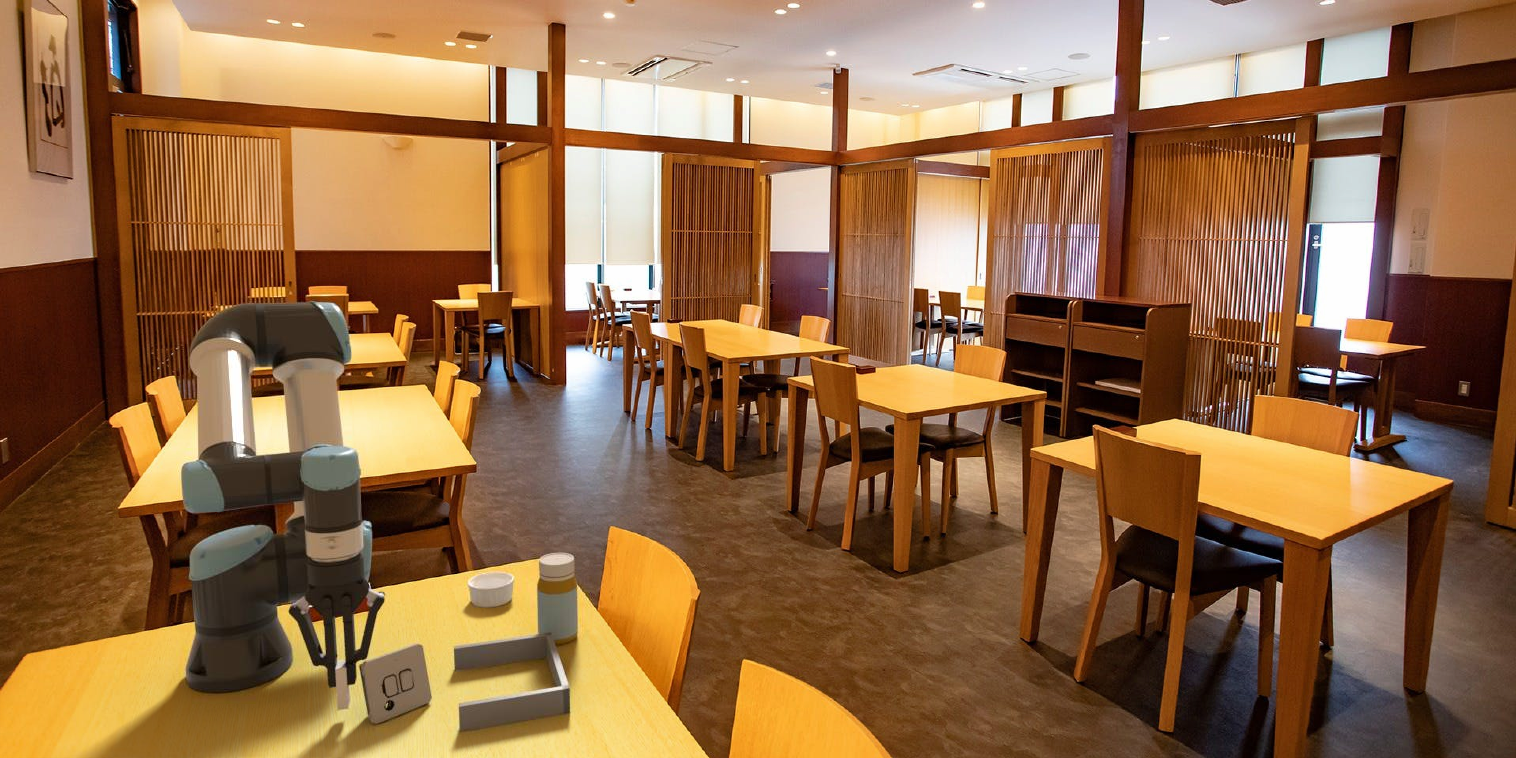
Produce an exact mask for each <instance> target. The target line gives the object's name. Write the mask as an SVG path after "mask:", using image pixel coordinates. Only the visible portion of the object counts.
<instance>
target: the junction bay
mask: <svg viewBox="0 0 1516 758" xmlns="http://www.w3.org/2000/svg"><path fill="white" fill-rule="evenodd" d="M543 658H546V660H547V663H548V667H549V669H550V673H551V677H552V681H553V683H554V687H549V688H542V689H537V690H531V691H525V692H518V693H513V694H506V695H500V696H495V697H489V698H482V699H476V700H472V701H471V700H470V701H463V702H458V720H459V721H458V722H459V723H458V724H459V725H458V726H459V733H463V732H468V731H473V730H478V729H484V728H489V727H490V728H491V727H496V726H501V725H506V724H507V725H508V724H512V723H517V722H524V721H531V720H536V719H541V718H545V717H552V716H558V715H563V714H569V713H571V688H570V684H569V682H568V678H567V676H566V674H565V673H566V672H565V670H564V667H563V664H562V661H561V658H560V654H559V652H558V649H557V645H555V642H554V639H553V636H552V633H551V632H550V633H543V634H538V633H537V634H536V633H535V634H529V635H523V636H515V637H510V638H509V637H508V638H502V639H495V640H487V641H480V642H475V643H466V644H461V645H455V646H453V662H454V664H453V665H454V672H458V671H459V672H461V671H467V670H472V669H473V670H474V669H480V668H486V667H491V666H492V667H493V666H498V665H505V664H512V663H518V662H526V661H532V660H539V659H543Z"/></svg>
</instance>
